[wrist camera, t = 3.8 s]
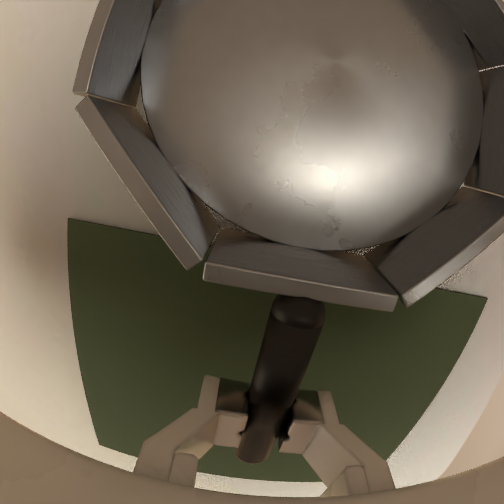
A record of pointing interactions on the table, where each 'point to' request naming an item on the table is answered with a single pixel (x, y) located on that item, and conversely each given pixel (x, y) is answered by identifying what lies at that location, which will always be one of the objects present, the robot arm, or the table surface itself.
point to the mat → (241, 349)
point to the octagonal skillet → (305, 152)
